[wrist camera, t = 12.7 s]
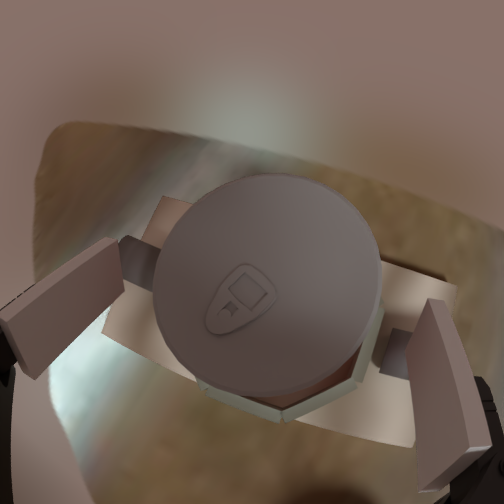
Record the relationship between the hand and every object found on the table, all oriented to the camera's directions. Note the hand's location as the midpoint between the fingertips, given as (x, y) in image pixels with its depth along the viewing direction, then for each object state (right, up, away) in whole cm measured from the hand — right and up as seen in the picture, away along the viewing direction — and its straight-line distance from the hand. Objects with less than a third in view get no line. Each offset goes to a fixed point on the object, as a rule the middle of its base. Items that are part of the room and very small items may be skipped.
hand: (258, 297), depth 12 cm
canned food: (+2, -3, +8) cm, 9 cm away
